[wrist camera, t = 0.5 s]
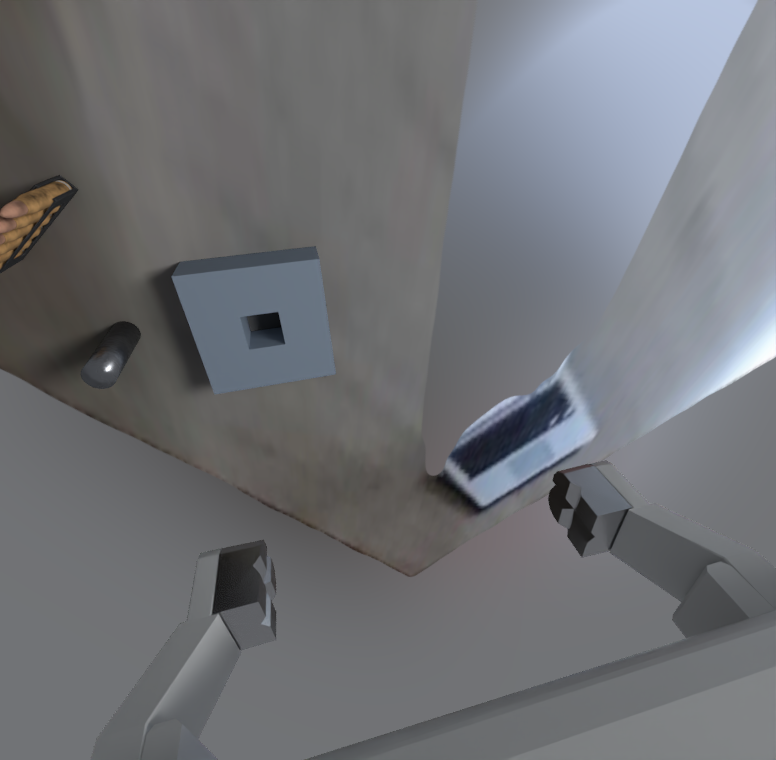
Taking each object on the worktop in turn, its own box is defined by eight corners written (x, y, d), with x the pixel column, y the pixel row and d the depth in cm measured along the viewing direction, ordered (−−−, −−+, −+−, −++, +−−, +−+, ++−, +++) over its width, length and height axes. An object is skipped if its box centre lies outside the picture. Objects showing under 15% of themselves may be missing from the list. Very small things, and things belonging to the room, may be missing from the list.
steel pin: (106, 323, 50) (74, 366, 42) (134, 319, 50) (108, 361, 42) (117, 346, 52) (89, 390, 44) (144, 342, 52) (121, 385, 44)
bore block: (179, 261, 48) (171, 276, 44) (315, 246, 50) (319, 258, 46) (218, 373, 57) (214, 394, 53) (331, 355, 60) (335, 374, 56)
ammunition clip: (21, 260, 44) (-49, 305, 35) (2, 248, 43) (-76, 290, 34) (78, 189, 42) (21, 216, 32) (59, 174, 41) (-6, 197, 31)
